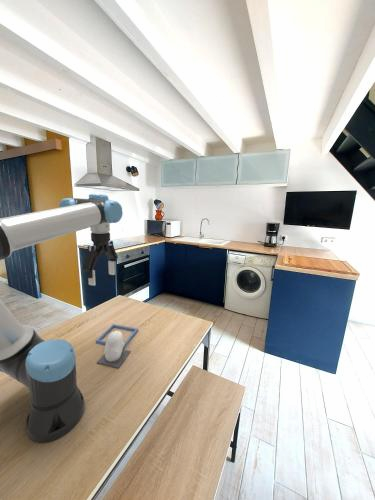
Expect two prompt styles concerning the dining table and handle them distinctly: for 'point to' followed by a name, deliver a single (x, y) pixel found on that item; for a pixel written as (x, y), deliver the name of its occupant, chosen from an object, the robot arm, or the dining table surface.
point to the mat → (114, 363)
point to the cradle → (135, 330)
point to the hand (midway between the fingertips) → (102, 279)
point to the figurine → (114, 346)
